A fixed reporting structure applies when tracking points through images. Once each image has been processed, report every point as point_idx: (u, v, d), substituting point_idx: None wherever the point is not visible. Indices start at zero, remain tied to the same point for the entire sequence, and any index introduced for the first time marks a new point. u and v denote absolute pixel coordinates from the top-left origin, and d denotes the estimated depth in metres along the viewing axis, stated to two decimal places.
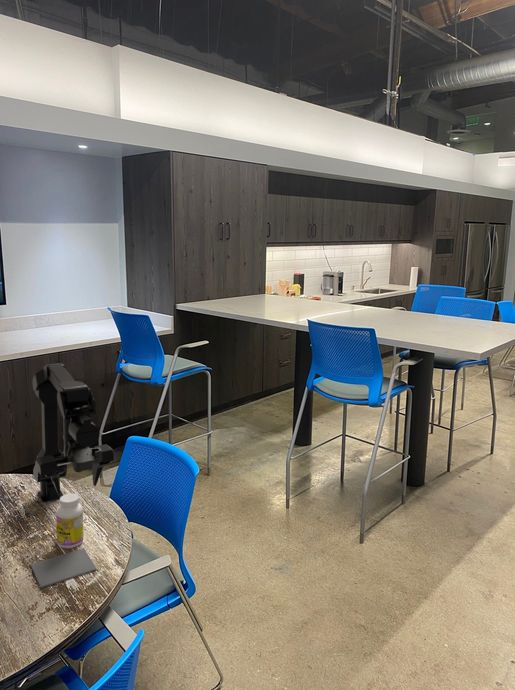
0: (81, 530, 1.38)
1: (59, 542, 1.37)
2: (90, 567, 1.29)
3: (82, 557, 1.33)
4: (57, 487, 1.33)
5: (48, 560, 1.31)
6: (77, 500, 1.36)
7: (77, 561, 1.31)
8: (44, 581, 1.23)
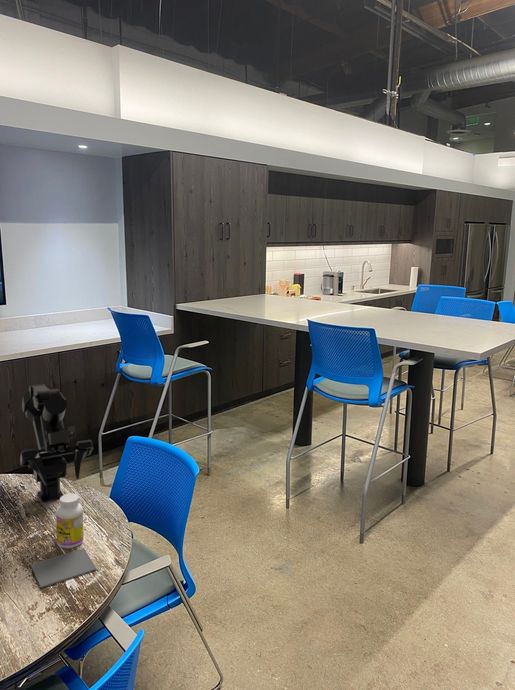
0: (81, 530, 1.38)
1: (59, 542, 1.37)
2: (90, 567, 1.29)
3: (82, 557, 1.33)
4: (43, 475, 1.42)
5: (48, 560, 1.31)
6: (77, 500, 1.36)
7: (77, 561, 1.31)
8: (44, 581, 1.23)
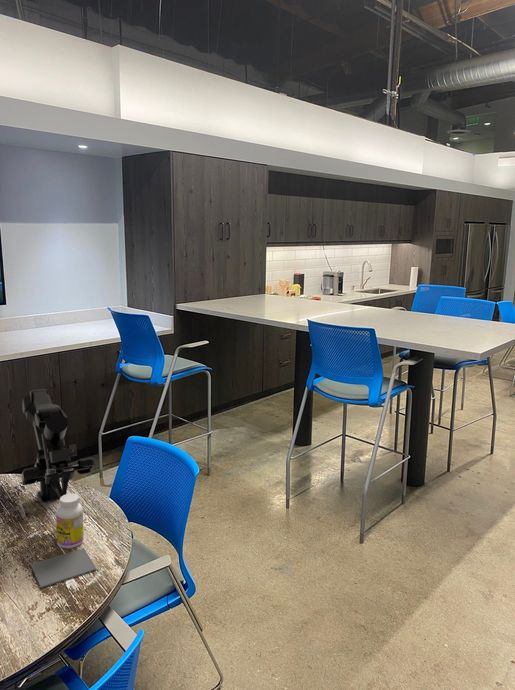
0: (81, 530, 1.38)
1: (59, 542, 1.37)
2: (90, 567, 1.29)
3: (82, 557, 1.33)
4: (60, 491, 1.44)
5: (48, 560, 1.31)
6: (77, 500, 1.36)
7: (77, 561, 1.31)
8: (44, 581, 1.23)
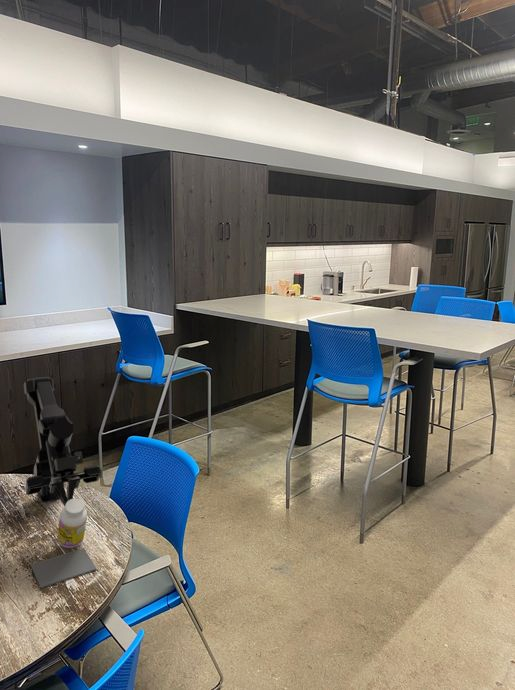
0: (83, 533, 1.37)
1: (59, 541, 1.36)
2: (90, 567, 1.29)
3: (82, 557, 1.33)
4: (65, 500, 1.38)
5: (48, 560, 1.31)
6: (83, 510, 1.33)
7: (77, 561, 1.31)
8: (44, 581, 1.23)
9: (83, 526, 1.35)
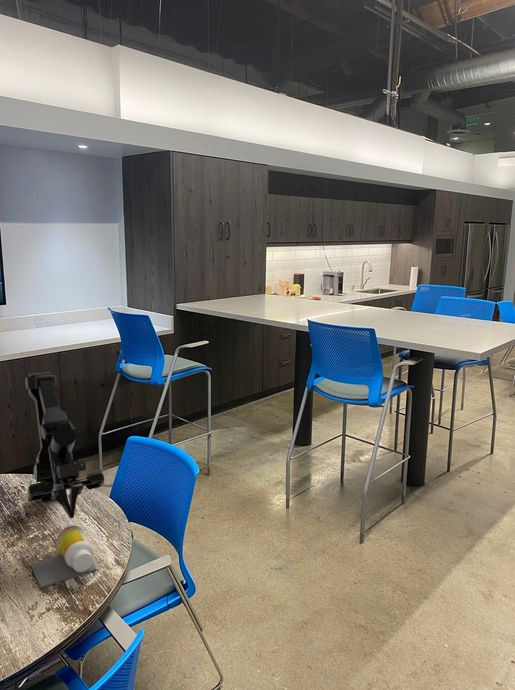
0: None
1: None
2: (90, 567, 1.29)
3: None
4: (68, 508, 1.35)
5: (48, 560, 1.31)
6: None
7: None
8: (44, 581, 1.23)
9: None
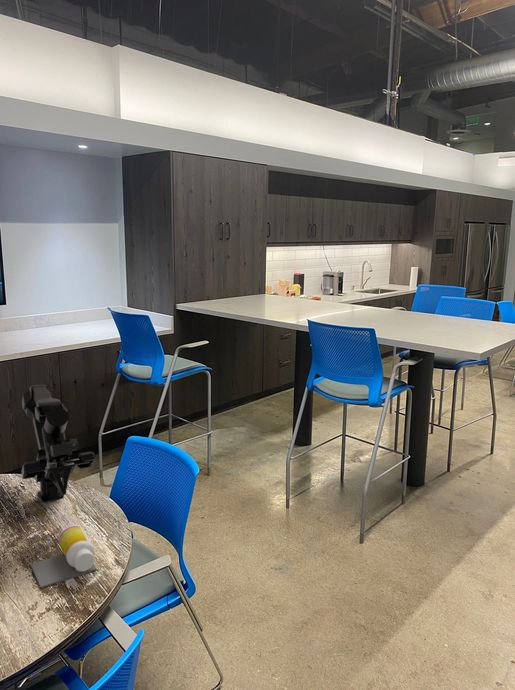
0: None
1: None
2: None
3: None
4: (60, 485, 1.43)
5: (48, 560, 1.31)
6: None
7: None
8: (44, 581, 1.23)
9: None
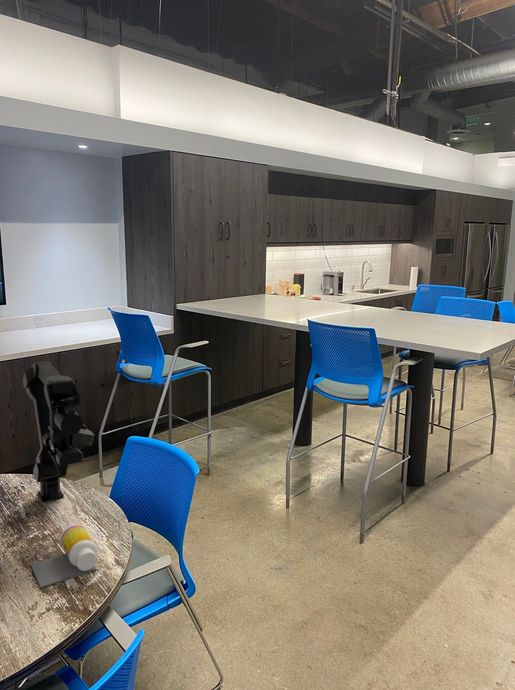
0: None
1: None
2: None
3: None
4: None
5: (48, 560, 1.31)
6: None
7: None
8: (44, 581, 1.23)
9: None
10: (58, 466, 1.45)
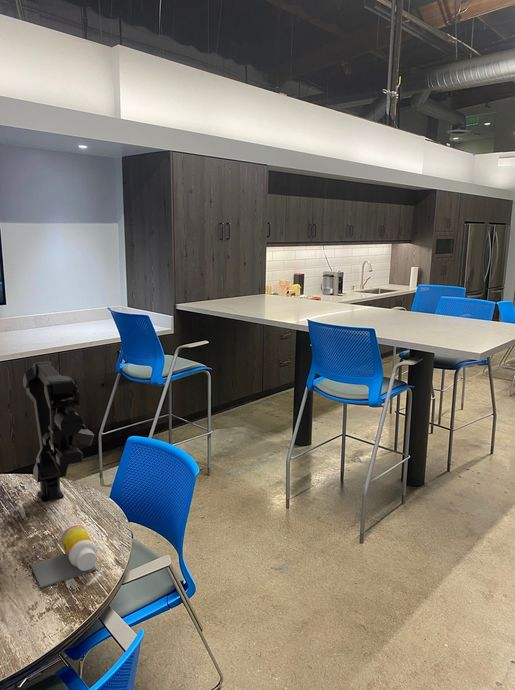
0: None
1: None
2: None
3: None
4: None
5: (48, 560, 1.31)
6: None
7: None
8: (44, 581, 1.23)
9: None
10: (58, 466, 1.45)
